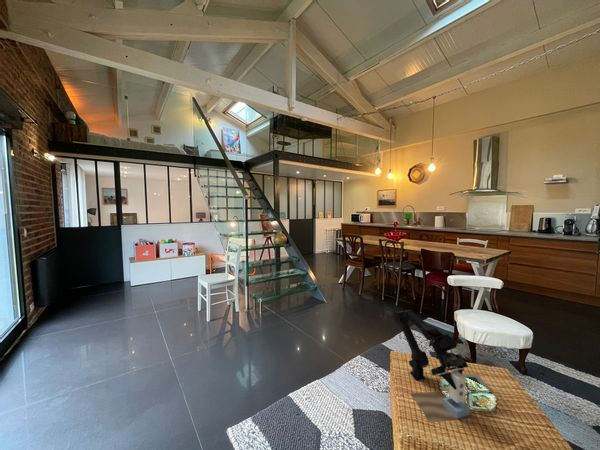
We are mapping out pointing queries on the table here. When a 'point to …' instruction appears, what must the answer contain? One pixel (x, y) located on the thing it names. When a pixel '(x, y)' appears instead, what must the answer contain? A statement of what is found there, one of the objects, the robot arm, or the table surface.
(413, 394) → the walnut board
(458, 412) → the socket cup
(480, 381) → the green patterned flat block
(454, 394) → the tower
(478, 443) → the table surface
